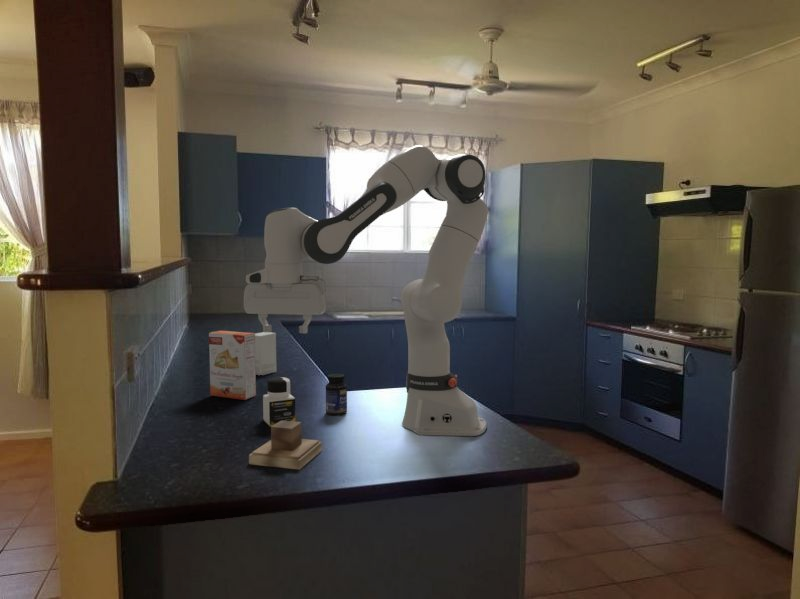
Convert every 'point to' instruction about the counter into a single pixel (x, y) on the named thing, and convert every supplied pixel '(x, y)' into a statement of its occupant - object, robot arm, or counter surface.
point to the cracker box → (232, 364)
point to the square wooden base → (286, 455)
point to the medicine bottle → (278, 401)
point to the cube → (286, 435)
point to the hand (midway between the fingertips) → (285, 332)
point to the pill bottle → (336, 395)
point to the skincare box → (265, 353)
